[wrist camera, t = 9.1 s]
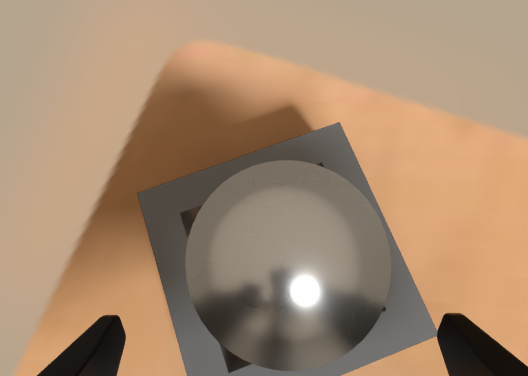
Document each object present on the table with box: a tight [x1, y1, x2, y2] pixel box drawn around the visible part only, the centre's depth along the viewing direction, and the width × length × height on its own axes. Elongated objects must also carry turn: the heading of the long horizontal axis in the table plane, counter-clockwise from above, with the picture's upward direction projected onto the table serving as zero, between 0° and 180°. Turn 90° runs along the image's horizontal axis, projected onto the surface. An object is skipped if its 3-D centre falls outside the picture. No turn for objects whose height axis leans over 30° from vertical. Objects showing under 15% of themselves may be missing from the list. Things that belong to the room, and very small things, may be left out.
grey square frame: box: [137, 122, 437, 376], centre depth 16 cm, size 10×10×4 cm
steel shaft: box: [185, 160, 391, 371], centre depth 13 cm, size 5×5×10 cm
